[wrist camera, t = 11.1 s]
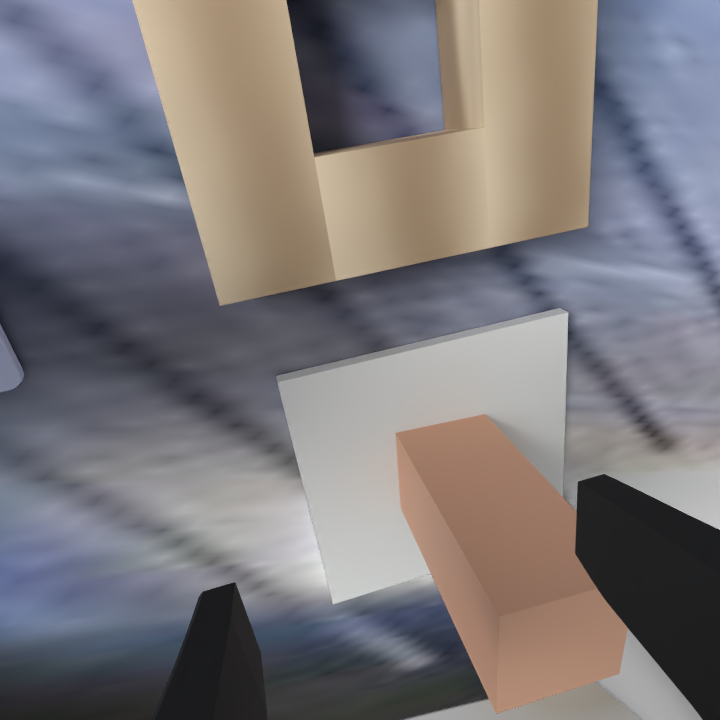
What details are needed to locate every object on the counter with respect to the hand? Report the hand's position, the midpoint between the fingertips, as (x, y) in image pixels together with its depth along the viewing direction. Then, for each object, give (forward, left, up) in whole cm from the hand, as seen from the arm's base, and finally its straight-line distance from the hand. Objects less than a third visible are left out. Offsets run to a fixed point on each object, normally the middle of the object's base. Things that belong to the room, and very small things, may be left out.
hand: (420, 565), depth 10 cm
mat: (+4, -6, -10) cm, 13 cm away
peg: (+4, -6, -10) cm, 12 cm away
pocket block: (+3, +10, -10) cm, 15 cm away
